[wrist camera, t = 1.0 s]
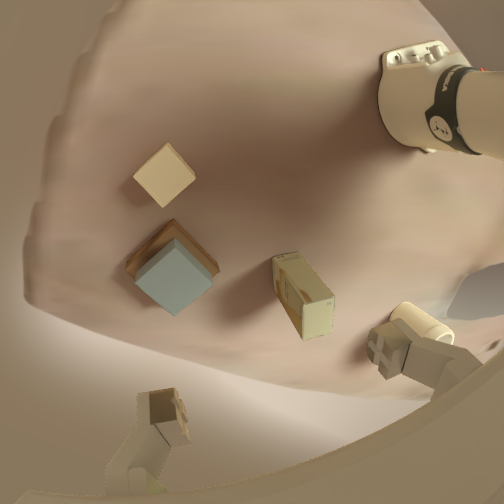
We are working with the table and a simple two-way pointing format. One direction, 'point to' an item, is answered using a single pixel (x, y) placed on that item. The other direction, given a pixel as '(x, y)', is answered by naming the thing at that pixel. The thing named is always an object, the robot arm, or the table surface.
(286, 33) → the table surface
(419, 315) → the foam cup
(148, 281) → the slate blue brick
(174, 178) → the cream brick
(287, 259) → the skincare box
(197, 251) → the walnut base brick
